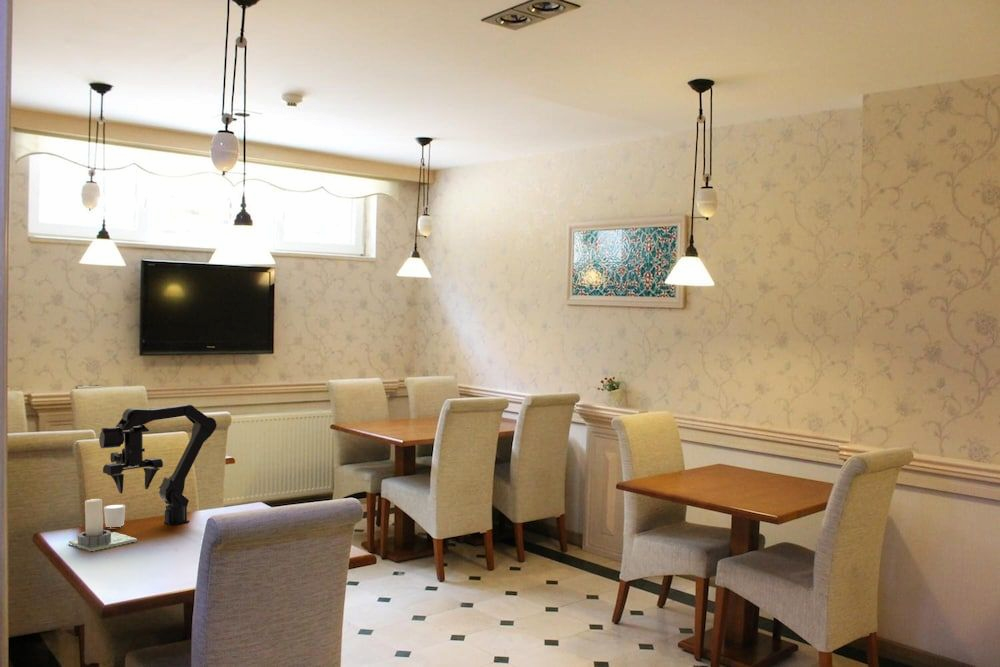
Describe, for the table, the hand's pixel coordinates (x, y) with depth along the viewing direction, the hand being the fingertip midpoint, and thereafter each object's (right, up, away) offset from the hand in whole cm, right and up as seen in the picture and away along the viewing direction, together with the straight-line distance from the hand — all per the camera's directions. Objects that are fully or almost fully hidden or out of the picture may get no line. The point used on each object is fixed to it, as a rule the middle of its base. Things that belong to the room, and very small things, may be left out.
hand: (133, 491), depth 290 cm
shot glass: (-8, -13, +4) cm, 16 cm away
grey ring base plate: (-2, -13, -17) cm, 22 cm away
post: (-4, -12, -19) cm, 23 cm away
